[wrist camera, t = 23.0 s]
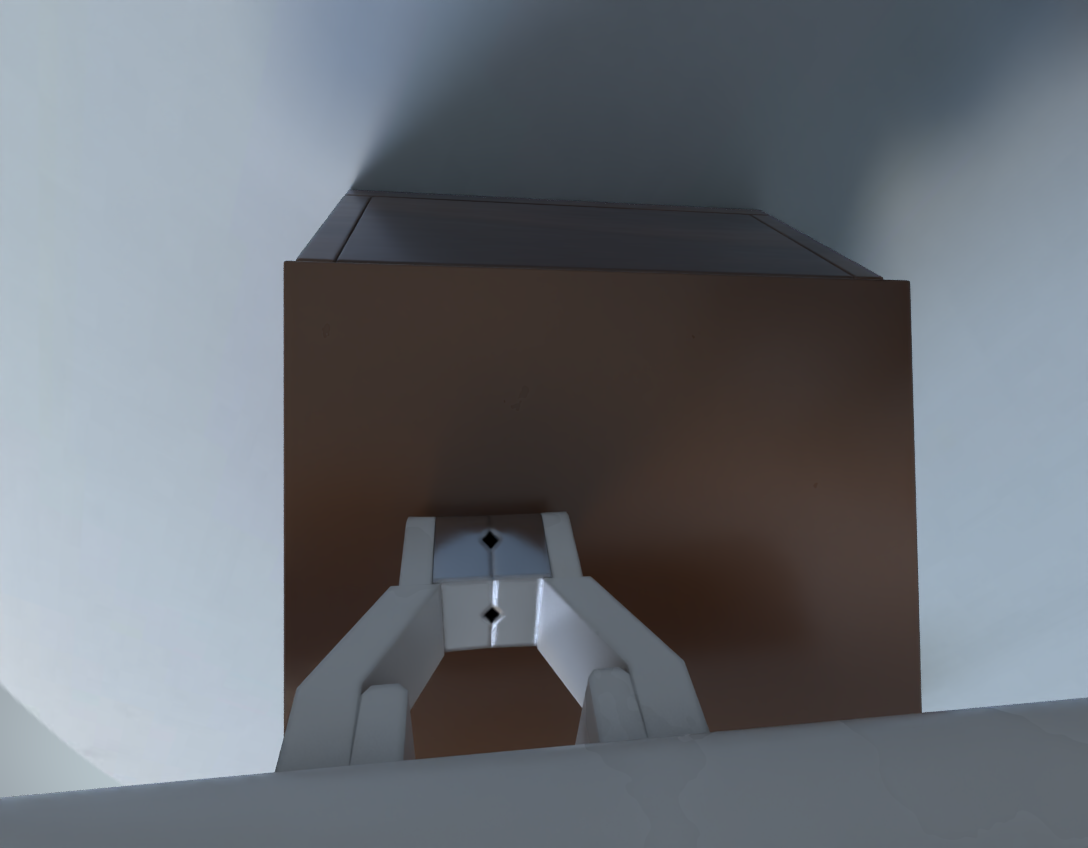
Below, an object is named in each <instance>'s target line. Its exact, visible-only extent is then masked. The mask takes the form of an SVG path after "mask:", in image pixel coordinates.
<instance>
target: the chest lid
mask: <svg viewBox="0 0 1088 848" xmlns="http://www.w3.org/2000/svg"><path fill="white" fill-rule="evenodd" d="M548 512H566V513H567V514H568V515H569V519H570V523H571V527H572V532H573V536H574V540H575V544H576V549H577V553H578V557H579V561H580V566H581V570H582V574H583V576H591V577H592V578H593V579H594V580H595V581H597V582H598V583H599V584H600V585H601V586H602V587H603V588H604V589H605V590H606V591H608V592H609V593H610V594H611V595H612V596H613V597H614V598H615V599H616V600H617V601H619V602H620V603H621V604H622V605H623V606H624V607H625V608H626V609H627V610H629V611H630V612H631V613H632V614H633V615H634V616H635V617H636V618H637V619H638V620H640V621H641V622H642V623H643V624H644V625H645V626H646V627H647V628H648V629H649V630H651V631H652V632H653V633H654V634H655V635H656V636H657V637H658V638H659V639H661V640H662V641H663V642H664V643H665V644H666V645H667V646H668V647H669V648H670V649H672V650H673V651H674V652H675V653H676V654H677V655H678V656H679V657H680V658H681V659H683V660H684V662H685V665H686V667H687V670H688V673H689V676H690V679H691V681H692V684H693V687H694V690H695V692H696V695H697V698H698V701H699V703H700V706H701V709H702V712H703V714H704V717H705V720H706V723H707V726H708V728H709V731H710V732H719V731H729V730H740V729H751V728H762V727H773V726H784V725H795V724H806V723H817V722H827V721H838V720H849V719H860V718H871V717H882V716H893V715H904V714H915V713H922V702H921V666H920V629H919V592H918V556H917V519H916V482H915V446H914V409H913V373H912V336H911V299H910V281H907V280H878V279H846V278H815V277H783V276H751V275H720V274H688V273H657V272H625V271H594V270H562V269H531V268H499V267H467V266H436V265H404V264H373V263H341V262H310V261H284V735H285V731H286V727H287V724H288V720H289V716H290V712H291V708H292V704H293V701H294V697H295V693H296V689H297V687H298V686H299V685H300V684H301V683H302V682H303V681H304V680H305V679H306V677H307V676H308V675H309V674H310V673H311V672H312V671H313V670H314V669H315V668H316V667H317V666H318V664H319V663H320V662H321V661H322V660H323V659H324V658H325V657H326V656H327V655H328V654H329V652H330V651H331V650H332V649H333V648H334V647H335V646H336V645H337V644H338V643H339V642H340V641H341V639H342V638H343V637H344V636H345V635H346V634H347V633H348V632H349V631H350V630H351V629H352V627H353V626H354V625H355V624H356V623H357V622H358V621H359V620H360V619H361V618H362V617H363V616H364V614H365V613H366V612H367V611H368V610H369V609H370V608H371V607H372V606H373V605H374V604H375V602H376V601H377V600H378V599H379V598H380V597H381V596H382V595H383V594H384V593H385V592H386V591H387V589H388V588H389V587H390V586H399V580H400V571H401V563H402V554H403V545H404V537H405V528H406V522H407V519H408V517H436V516H486V515H507V514H531V513H539V514H540V513H548ZM581 712H582V707H581V706H580V704H579V703H578V702H577V701H576V699H575V698H574V697H573V695H572V694H571V693H570V691H569V690H568V689H567V687H566V686H565V685H564V683H563V682H562V681H561V679H560V678H559V677H558V675H557V674H556V673H555V671H554V670H553V669H552V667H551V666H550V665H549V663H548V662H547V661H546V659H545V658H544V657H543V655H542V654H541V653H540V651H539V650H538V649H537V646H523V647H498V648H483V649H472V650H462V651H451V652H444V657H443V658H442V660H441V661H440V663H439V665H438V666H437V668H436V670H435V671H434V673H433V674H432V676H431V678H430V679H429V681H428V682H427V684H426V686H425V687H424V689H423V691H422V692H421V694H420V695H419V697H418V699H417V700H416V702H415V704H414V705H413V707H412V708H411V710H410V714H411V723H412V732H413V741H414V750H415V759H426V758H437V757H448V756H459V755H470V754H480V753H491V752H502V751H513V750H524V749H535V748H546V747H556V746H567V745H575V743H576V738H577V733H578V727H579V722H580V717H581Z"/></svg>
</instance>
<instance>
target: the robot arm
mask: <svg viewBox="0 0 1088 848" xmlns="http://www.w3.org/2000/svg"><path fill="white" fill-rule="evenodd" d="M523 646H537V649H538V650H539V651H540V653H541V654H542V655H543V657H544V658H545V659H546V661H547V662H548V663H549V665H550V666H551V667H552V669H553V670H554V671H555V673H556V674H557V675H558V677H559V678H560V679H561V681H562V682H563V683H564V685H565V686H566V687H567V689H568V690H569V691H570V693H571V694H572V695H573V697H574V698H575V699H576V701H577V702H578V703H579V704H580V706H581V707H582V712H581V717H580V722H579V727H578V733H577V738H576V743H575V745H567V746H556V747H546V748H535V749H524V750H513V751H502V752H491V753H480V754H470V755H459V756H448V757H437V758H426V759H415V750H414V741H413V732H412V723H411V714H410V710H411V708H412V707H413V705H414V704H415V702H416V700H417V699H418V697H419V695H420V694H421V692H422V691H423V689H424V687H425V686H426V684H427V682H428V681H429V679H430V678H431V676H432V674H433V673H434V671H435V670H436V668H437V666H438V665H439V663H440V661H441V660H442V658H443V657H444V652H451V651H462V650H472V649H483V648H498V647H523ZM0 848H1088V698H1077V699H1067V700H1056V701H1045V702H1034V703H1023V704H1013V705H1002V706H991V707H980V708H969V709H958V710H947V711H936V712H925V713H915V714H904V715H893V716H882V717H871V718H860V719H849V720H838V721H827V722H817V723H806V724H795V725H784V726H773V727H762V728H751V729H740V730H729V731H719V732H710V731H709V728H708V726H707V723H706V720H705V717H704V714H703V712H702V709H701V706H700V703H699V701H698V698H697V695H696V692H695V690H694V687H693V684H692V681H691V679H690V676H689V673H688V670H687V667H686V665H685V662H684V660H683V659H681V658H680V657H679V656H678V655H677V654H676V653H675V652H674V651H673V650H672V649H670V648H669V647H668V646H667V645H666V644H665V643H664V642H663V641H662V640H661V639H659V638H658V637H657V636H656V635H655V634H654V633H653V632H652V631H651V630H649V629H648V628H647V627H646V626H645V625H644V624H643V623H642V622H641V621H640V620H638V619H637V618H636V617H635V616H634V615H633V614H632V613H631V612H630V611H629V610H627V609H626V608H625V607H624V606H623V605H622V604H621V603H620V602H619V601H617V600H616V599H615V598H614V597H613V596H612V595H611V594H610V593H609V592H608V591H606V590H605V589H604V588H603V587H602V586H601V585H600V584H599V583H598V582H597V581H595V580H594V579H593V578H592V577H591V576H583V574H582V570H581V566H580V561H579V557H578V553H577V549H576V544H575V540H574V536H573V532H572V527H571V523H570V519H569V515H568V514H567V513H566V512H548V513H540V514H539V513H531V514H507V515H486V516H436V517H408V519H407V522H406V528H405V537H404V545H403V554H402V563H401V571H400V580H399V586H390V587H389V588H388V589H387V591H386V592H385V593H384V594H383V595H382V596H381V597H380V598H379V599H378V600H377V601H376V602H375V604H374V605H373V606H372V607H371V608H370V609H369V610H368V611H367V612H366V613H365V614H364V616H363V617H362V618H361V619H360V620H359V621H358V622H357V623H356V624H355V625H354V626H353V627H352V629H351V630H350V631H349V632H348V633H347V634H346V635H345V636H344V637H343V638H342V639H341V641H340V642H339V643H338V644H337V645H336V646H335V647H334V648H333V649H332V650H331V651H330V652H329V654H328V655H327V656H326V657H325V658H324V659H323V660H322V661H321V662H320V663H319V664H318V666H317V667H316V668H315V669H314V670H313V671H312V672H311V673H310V674H309V675H308V676H307V677H306V679H305V680H304V681H303V682H302V683H301V684H300V685H299V686H298V687H297V689H296V693H295V697H294V701H293V704H292V708H291V712H290V716H289V720H288V724H287V727H286V731H285V735H284V739H283V743H282V747H281V750H280V754H279V758H278V762H277V766H276V770H275V772H274V773H263V774H252V775H241V776H230V777H219V778H208V779H197V780H187V781H176V782H165V783H154V784H143V785H132V786H121V787H111V788H99V789H89V790H77V791H67V792H56V793H46V794H34V795H23V796H12V797H1V798H0Z"/></svg>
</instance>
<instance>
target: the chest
mask: <svg viewBox="0 0 1088 848" xmlns="http://www.w3.org/2000/svg"><path fill="white" fill-rule="evenodd" d="M296 261H310V262H341V263H373V264H404V265H436V266H467V267H499V268H531V269H562V270H594V271H625V272H657V273H688V274H720V275H751V276H783V277H815V278H846V279H878V280H883V277H881V276H879V275H877V274H875V273H874V272H872V271H870V270H868V269H866V268H865V267H863V266H861V265H859V264H857V263H856V262H854V261H852V260H850V259H848V258H847V257H845V256H843V255H841V254H839V253H838V252H836V251H834V250H832V249H830V248H829V247H827V246H825V245H823V244H821V243H820V242H818V241H816V240H814V239H812V238H811V237H809V236H807V235H805V234H803V233H802V232H800V231H798V230H796V229H794V228H793V227H791V226H789V225H787V224H785V223H784V222H782V221H780V220H778V219H776V218H775V217H773V216H770V215H769V214H767V213H765V212H763V211H761V210H749V209H729V208H709V207H689V206H669V205H648V204H628V203H608V202H588V201H568V200H548V199H527V198H507V197H487V196H467V195H447V194H427V193H406V192H386V191H366V190H349V191H348V192H347V193H346V194H345V196H343V198H342V199H341V200H340V202H339V203H338V204H337V206H336V207H335V208H334V210H333V211H332V212H331V214H330V215H329V216H328V218H327V219H326V220H325V222H324V223H323V224H322V226H321V227H320V228H319V230H318V231H317V232H316V234H315V235H314V236H313V238H312V239H311V240H310V242H309V243H308V244H307V246H306V247H305V248H304V250H303V251H302V252H301V254H300V255H299V256H298V258H297V259H296Z"/></svg>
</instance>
